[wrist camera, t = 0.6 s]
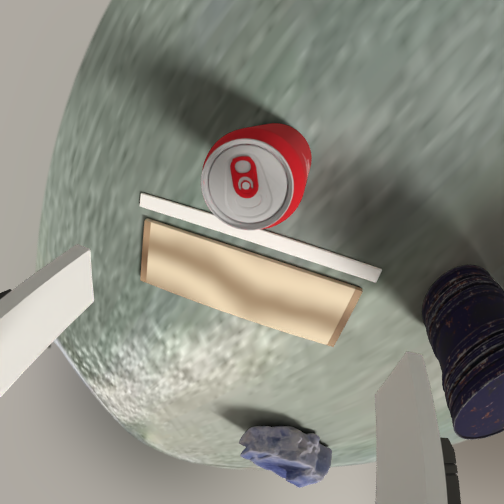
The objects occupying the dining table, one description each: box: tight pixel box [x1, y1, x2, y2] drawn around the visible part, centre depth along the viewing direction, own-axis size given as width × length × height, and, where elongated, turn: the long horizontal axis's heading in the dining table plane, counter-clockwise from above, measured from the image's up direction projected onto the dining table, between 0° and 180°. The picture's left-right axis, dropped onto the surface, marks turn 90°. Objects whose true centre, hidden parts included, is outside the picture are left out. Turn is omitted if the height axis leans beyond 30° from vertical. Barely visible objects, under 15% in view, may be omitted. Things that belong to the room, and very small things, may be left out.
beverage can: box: [201, 123, 311, 231], centre depth 22 cm, size 6×6×12 cm
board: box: [141, 218, 363, 347], centre depth 33 cm, size 8×24×1 cm, turn 76°
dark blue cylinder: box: [422, 265, 504, 440], centre depth 22 cm, size 10×10×15 cm
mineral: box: [239, 426, 332, 487], centre depth 41 cm, size 14×10×10 cm
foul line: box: [140, 193, 382, 283], centre depth 31 cm, size 2×26×1 cm, turn 76°
